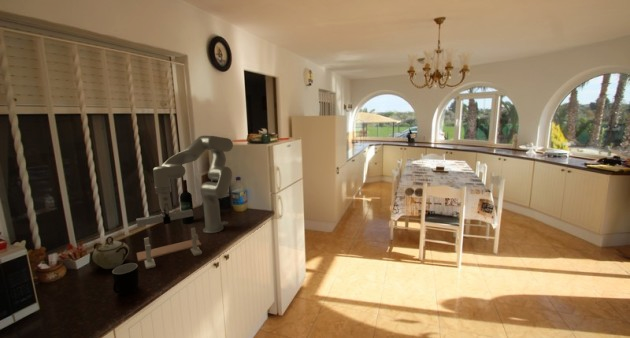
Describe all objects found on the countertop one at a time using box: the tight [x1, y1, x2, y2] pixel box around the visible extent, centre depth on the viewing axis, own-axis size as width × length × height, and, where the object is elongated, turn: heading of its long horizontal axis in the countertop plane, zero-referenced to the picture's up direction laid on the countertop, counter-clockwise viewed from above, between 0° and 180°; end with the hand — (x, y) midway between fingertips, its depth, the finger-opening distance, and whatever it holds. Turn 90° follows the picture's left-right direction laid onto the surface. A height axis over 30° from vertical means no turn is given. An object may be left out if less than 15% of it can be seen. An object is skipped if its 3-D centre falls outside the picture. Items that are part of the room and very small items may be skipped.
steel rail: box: [135, 209, 194, 227], centre depth 156 cm, size 27×3×3 cm, turn 125°
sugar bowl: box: [91, 235, 130, 270], centre depth 143 cm, size 20×15×15 cm
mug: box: [111, 262, 140, 296], centre depth 120 cm, size 12×9×10 cm
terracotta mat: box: [136, 239, 202, 263], centre depth 160 cm, size 31×10×1 cm, turn 125°
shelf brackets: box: [143, 227, 203, 270], centre depth 149 cm, size 26×8×13 cm, turn 125°
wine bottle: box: [179, 179, 195, 225], centre depth 199 cm, size 8×8×30 cm
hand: (166, 222), depth 157 cm, fingers closed on steel rail, 3 cm apart
